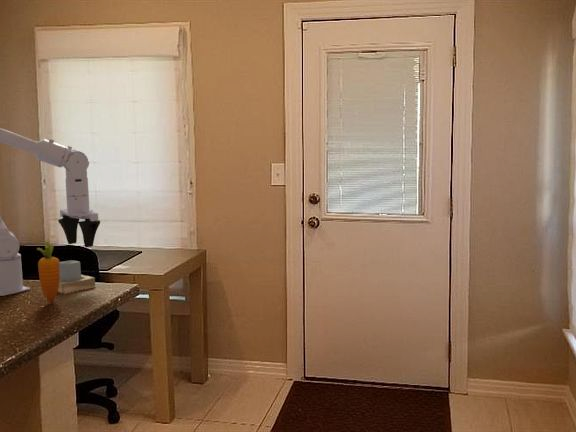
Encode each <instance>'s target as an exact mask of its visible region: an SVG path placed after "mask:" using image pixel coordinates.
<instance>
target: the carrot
mask: <svg viewBox="0 0 576 432" xmlns="http://www.w3.org/2000/svg"><path fill="white" fill-rule="evenodd" d="M45 245H46V246H44V249H45V250H44V249H43V248H40V247H37V248H36V251H39V253H41V254H42V255H43V256H44V257H42V258H40V259H39V260H38V263H37V268H38V275H39V276H38V277H39V283H40V286H41V290H42V292H43V295H44V297H45V299H46V300H47V302H48V303H49V304H51V303H52V304H54V302H55V300H56V297H57V294H58V293H59V292H58V288H59V280H60V264H59V262H60V259H59V258H58V257H55V256H52V253H53V251H54V247H55V245H53V244H51V243H50V242H49V241H46V242H45Z"/></svg>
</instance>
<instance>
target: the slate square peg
mask: <svg viewBox="0 0 576 432" xmlns="http://www.w3.org/2000/svg"><path fill="white" fill-rule="evenodd" d="M59 264H60V280H59V281H62V282H66V283H67V282H72V281H76V280H80V279H81V275H82V272H81V271H82V270H81V269H82V268H81V262H80V261H78V260H74V259H73V260H72V259H69V260H65V261H59Z"/></svg>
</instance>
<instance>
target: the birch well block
mask: <svg viewBox="0 0 576 432" xmlns="http://www.w3.org/2000/svg"><path fill="white" fill-rule="evenodd" d="M93 288H96V278H95V277H94V276H89V275H84V274H81V279H80V280H76V281H72V282H67V283H66V282H62V281H59V288H58V292H57V293H59V292H60V293H59V294H63V293H64V294H63V295H68V294H72V293H75V292H74V291H76V292H80V291H79V290H81V291H83V289H85V290H88V289H93ZM71 292H72V293H71ZM67 293H68V294H67Z"/></svg>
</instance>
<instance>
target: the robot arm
mask: <svg viewBox="0 0 576 432" xmlns="http://www.w3.org/2000/svg"><path fill="white" fill-rule="evenodd" d="M0 144H4V145H7V146H10V147H14V148H17V149H20V150H23V151H26V152H30V153H32V154H33V155H34V158H35V159H36V160H37V161H40V162H43V163H46V164H48V165H52V166H54V167H57V168H64V169H65V192H66V193H65V194H66V209H60V210H59V217H60V218H59V219H58V220H57V221H58V223H59V225H60V226H61V228H62V229H63V232H64V235H65V238H66V241H67V244H68V245H74V244H77V241H78V240H77V239H78V226H79V227H80V230H81V233H82V239H83V244H84V248H91V247H93V246H94V243H95V242H94V241H95V238H96V237H95V236H96V233H97V230H98V228H99V226H100V224H101V220H99V213H98V212H94V210H92V209H90V199H89V198H90V194H89V179H88V168H89V166H90V161H89V159H88V156H87V155H86V154H85V153H84V152H82V151H80V150H79V151H78V150H76V149H73V147H72V146H70V145H68V146H65V145H62V144H59V143H56V142H55V140H54V139H52V138H47V139H46V138H42V139H40V140H38V141H36V140H33V139H30V138H28V137H26V136H23V135H20V134H18V133H15V132H12V131H9V130H7V129H4V128H1V127H0ZM80 220H82V221H80ZM19 251H20V242H19V240H18V239H17V237H16V235H15V233H14V232H12V231H10V229H8V228H7V226H6V224H5V222H4V220H3V218H2V216H1V215H0V297H4V296H9V295H13V294H18V293H22V292H26V291H30V290H31V287H29V286H24V281H23V269H22V254H21V253H19Z"/></svg>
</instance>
